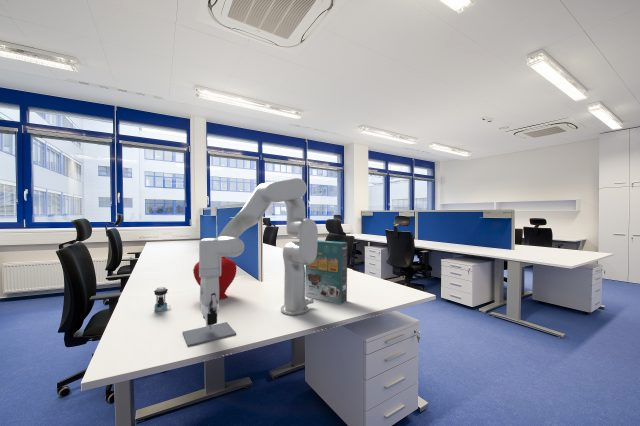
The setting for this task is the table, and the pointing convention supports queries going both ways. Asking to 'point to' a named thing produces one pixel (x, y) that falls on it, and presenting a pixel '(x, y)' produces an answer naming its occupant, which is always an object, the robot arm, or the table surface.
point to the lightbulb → (205, 311)
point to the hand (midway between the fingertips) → (209, 320)
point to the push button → (160, 299)
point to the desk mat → (208, 334)
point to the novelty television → (226, 275)
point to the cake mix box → (328, 273)
